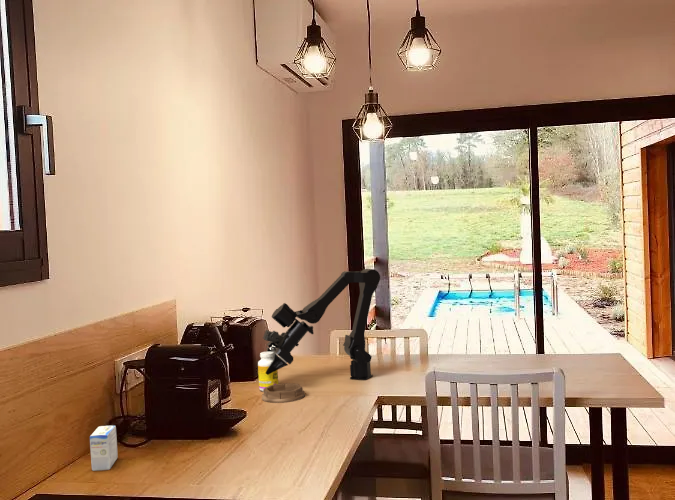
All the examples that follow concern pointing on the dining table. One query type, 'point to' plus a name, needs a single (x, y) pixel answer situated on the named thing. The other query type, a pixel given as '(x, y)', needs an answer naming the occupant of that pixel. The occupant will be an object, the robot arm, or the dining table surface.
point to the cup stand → (283, 393)
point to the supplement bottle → (262, 368)
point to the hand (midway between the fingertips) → (263, 371)
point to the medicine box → (103, 448)
